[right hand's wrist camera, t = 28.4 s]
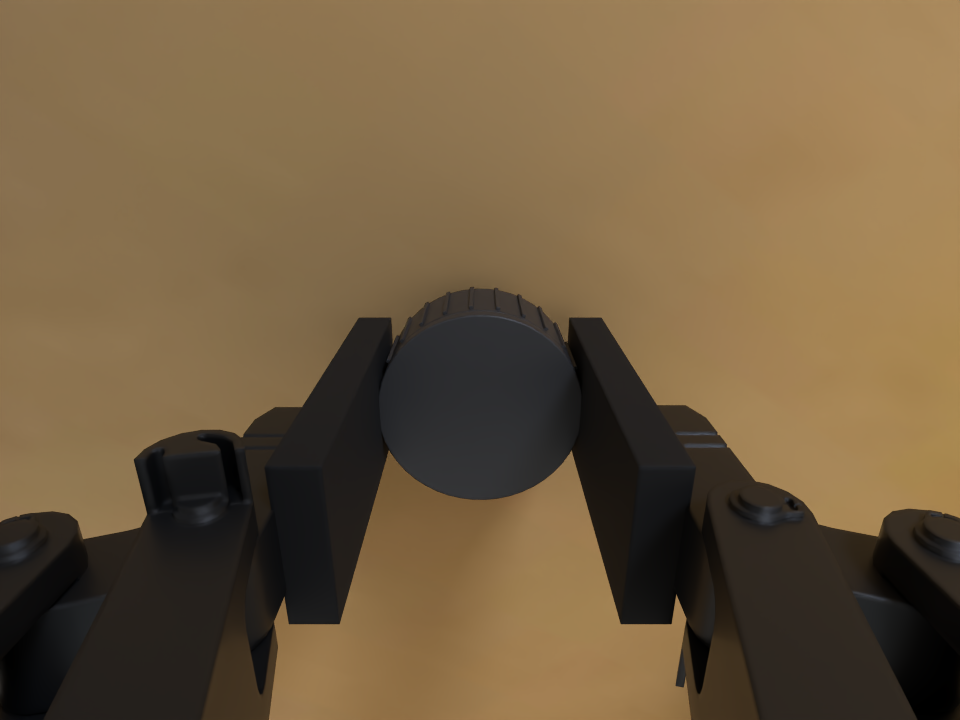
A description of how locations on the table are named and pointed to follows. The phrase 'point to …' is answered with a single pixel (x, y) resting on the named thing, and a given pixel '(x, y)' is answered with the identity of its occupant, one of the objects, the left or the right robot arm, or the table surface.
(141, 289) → the table surface
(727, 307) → the table surface
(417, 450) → the cap
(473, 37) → the table surface
